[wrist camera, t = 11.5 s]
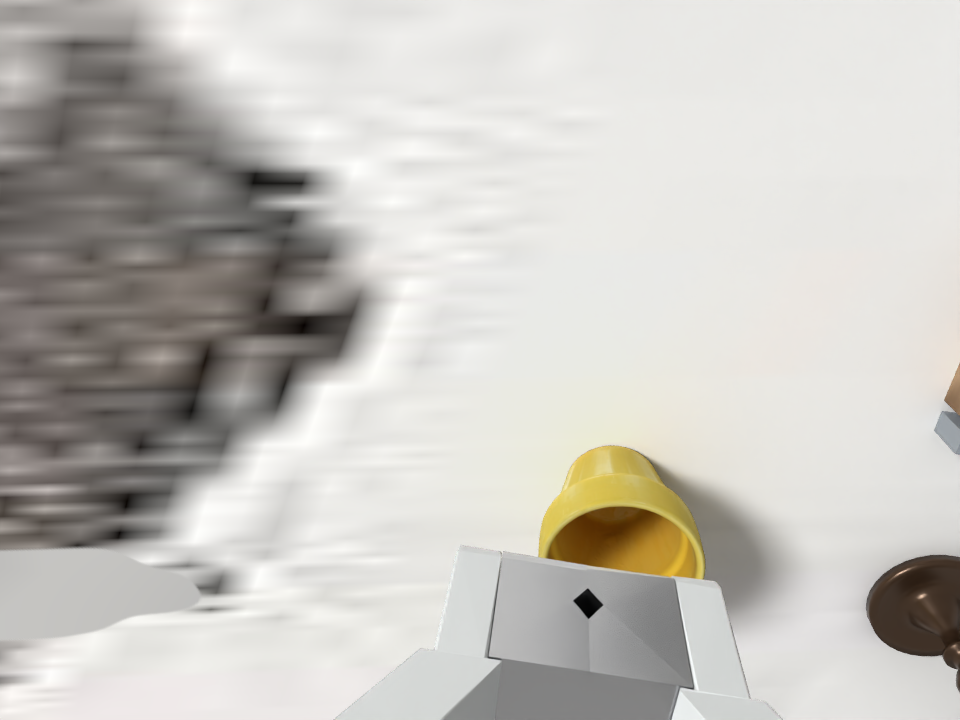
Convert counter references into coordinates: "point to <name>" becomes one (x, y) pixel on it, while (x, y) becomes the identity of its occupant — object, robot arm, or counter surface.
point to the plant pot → (621, 518)
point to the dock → (949, 430)
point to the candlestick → (920, 608)
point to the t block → (954, 393)
